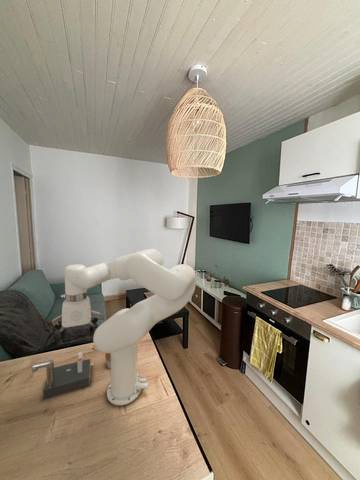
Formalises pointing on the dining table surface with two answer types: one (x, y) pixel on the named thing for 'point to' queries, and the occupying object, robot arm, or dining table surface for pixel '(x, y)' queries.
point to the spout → (49, 370)
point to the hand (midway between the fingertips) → (77, 336)
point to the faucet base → (68, 379)
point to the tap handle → (80, 362)
